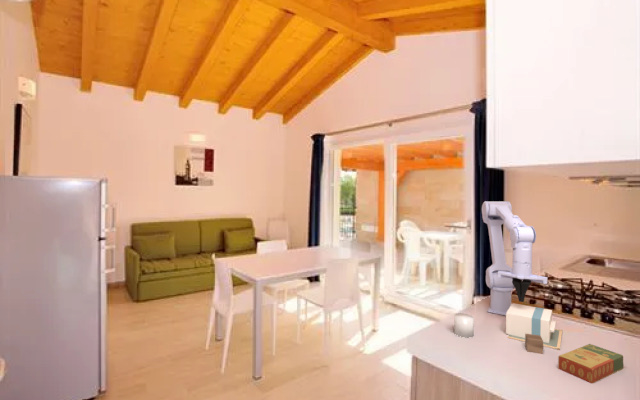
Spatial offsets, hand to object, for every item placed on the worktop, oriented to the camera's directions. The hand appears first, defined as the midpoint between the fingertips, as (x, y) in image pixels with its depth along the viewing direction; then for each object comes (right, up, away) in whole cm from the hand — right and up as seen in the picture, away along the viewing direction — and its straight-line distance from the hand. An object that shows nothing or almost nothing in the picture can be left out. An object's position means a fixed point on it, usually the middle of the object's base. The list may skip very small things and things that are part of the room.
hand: (521, 301), depth 117 cm
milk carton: (-3, -7, +2) cm, 8 cm away
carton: (+5, -12, -24) cm, 27 cm away
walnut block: (-4, -11, -13) cm, 17 cm away
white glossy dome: (-20, -11, -2) cm, 23 cm away
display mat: (+3, -11, -2) cm, 11 cm away
